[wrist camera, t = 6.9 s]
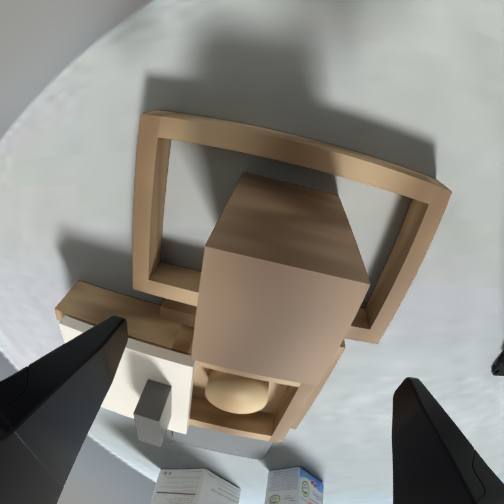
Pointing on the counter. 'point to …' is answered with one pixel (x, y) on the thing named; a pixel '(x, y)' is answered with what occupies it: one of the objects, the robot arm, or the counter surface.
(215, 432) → the slate mat
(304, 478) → the medicine box
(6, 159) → the counter surface
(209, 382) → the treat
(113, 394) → the lid
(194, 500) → the supplement box
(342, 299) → the walnut block
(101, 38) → the counter surface
